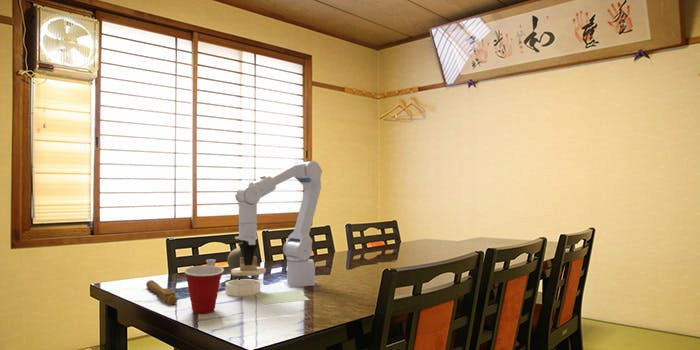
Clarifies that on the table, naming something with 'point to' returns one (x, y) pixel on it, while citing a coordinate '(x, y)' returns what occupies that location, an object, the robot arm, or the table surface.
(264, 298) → the mat
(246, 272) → the lid
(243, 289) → the bowl
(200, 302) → the plastic cup
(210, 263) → the flask
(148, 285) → the tap handle
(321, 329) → the table surface
